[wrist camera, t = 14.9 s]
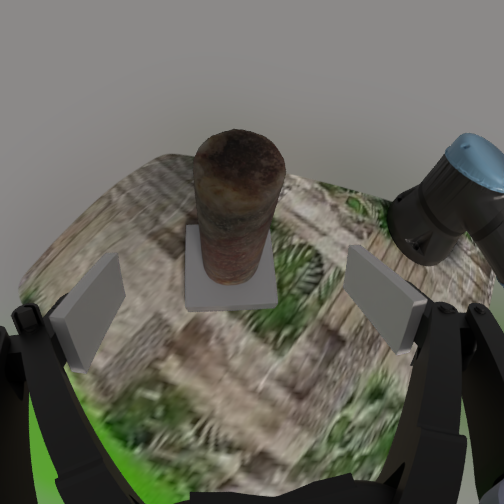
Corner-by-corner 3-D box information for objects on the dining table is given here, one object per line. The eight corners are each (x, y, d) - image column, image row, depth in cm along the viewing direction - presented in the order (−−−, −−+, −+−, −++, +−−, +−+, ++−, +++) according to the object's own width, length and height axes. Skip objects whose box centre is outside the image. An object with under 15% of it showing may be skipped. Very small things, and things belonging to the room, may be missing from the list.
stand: (266, 232, 44) (268, 222, 41) (274, 308, 39) (278, 302, 36) (188, 234, 43) (186, 225, 40) (188, 312, 38) (185, 307, 35)
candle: (257, 237, 40) (280, 128, 22) (262, 287, 37) (295, 199, 19) (203, 239, 39) (188, 129, 21) (203, 289, 36) (181, 201, 18)
